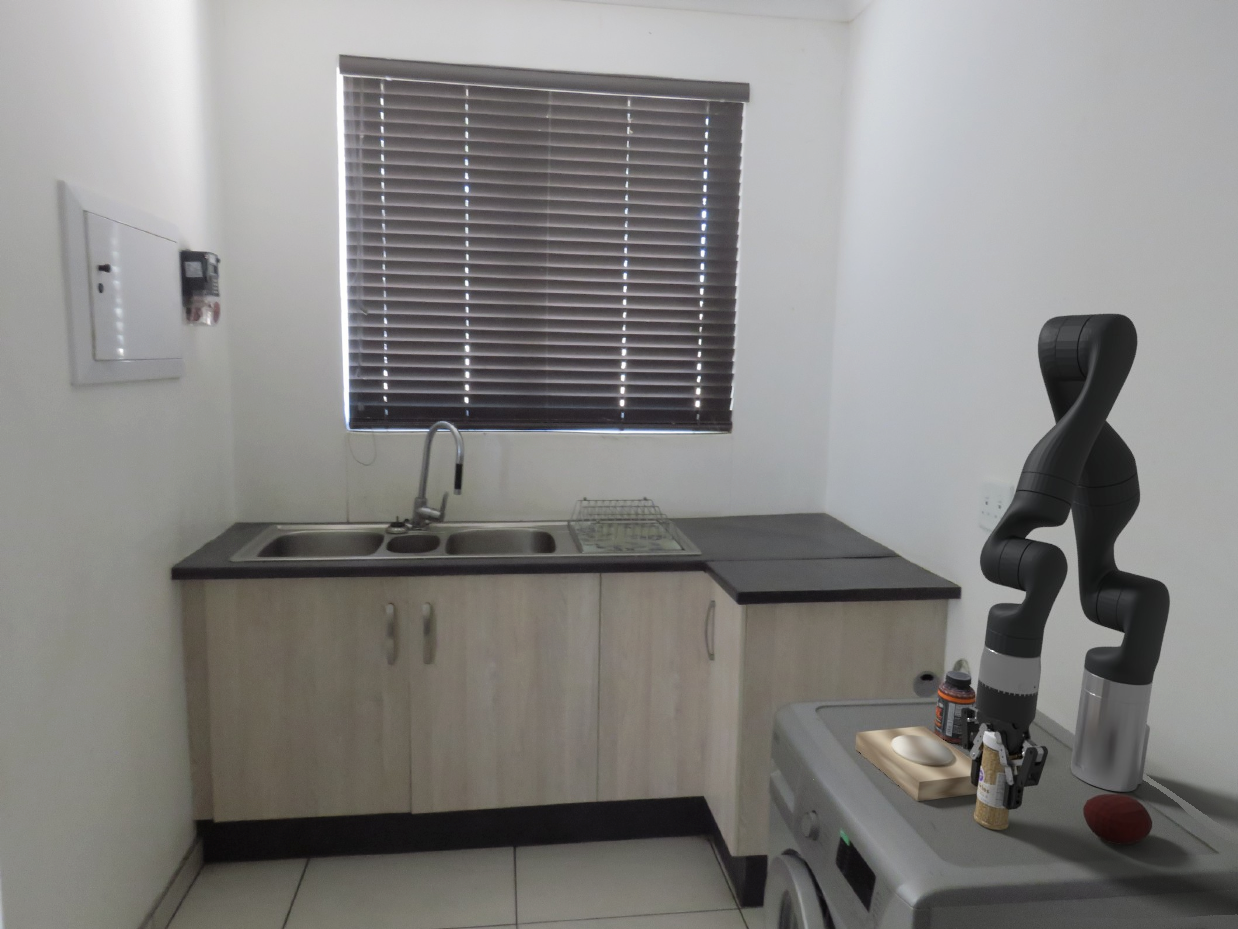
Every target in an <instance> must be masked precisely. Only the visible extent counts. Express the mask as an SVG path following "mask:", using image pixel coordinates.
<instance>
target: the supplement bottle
mask: <svg viewBox="0 0 1238 929" xmlns="http://www.w3.org/2000/svg"><path fill="white" fill-rule="evenodd" d="M971 685H972V676H971V675H970V674H969V673H966V672H963V671H960V670H948V671H947V672H946V674H945V681H944V682H942V683H940V684H939V686H938V692H937V701H936V708H935V709H936V710H935V715H934V716H935V718H934V727H933V728H934V729H933V731H934V732H933V733H934V734H936V735H937V736H939V737H940V738H941V739H944V741H945V740H947V741H946V742H950V743H952V742H953V744H962V730H961V709H962V708H965V707H976V705H975V702H976V694H977V693H976V690H975V689H974V688H973V687H972V686H971ZM971 737H972V733H970V738H971Z"/></svg>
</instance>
